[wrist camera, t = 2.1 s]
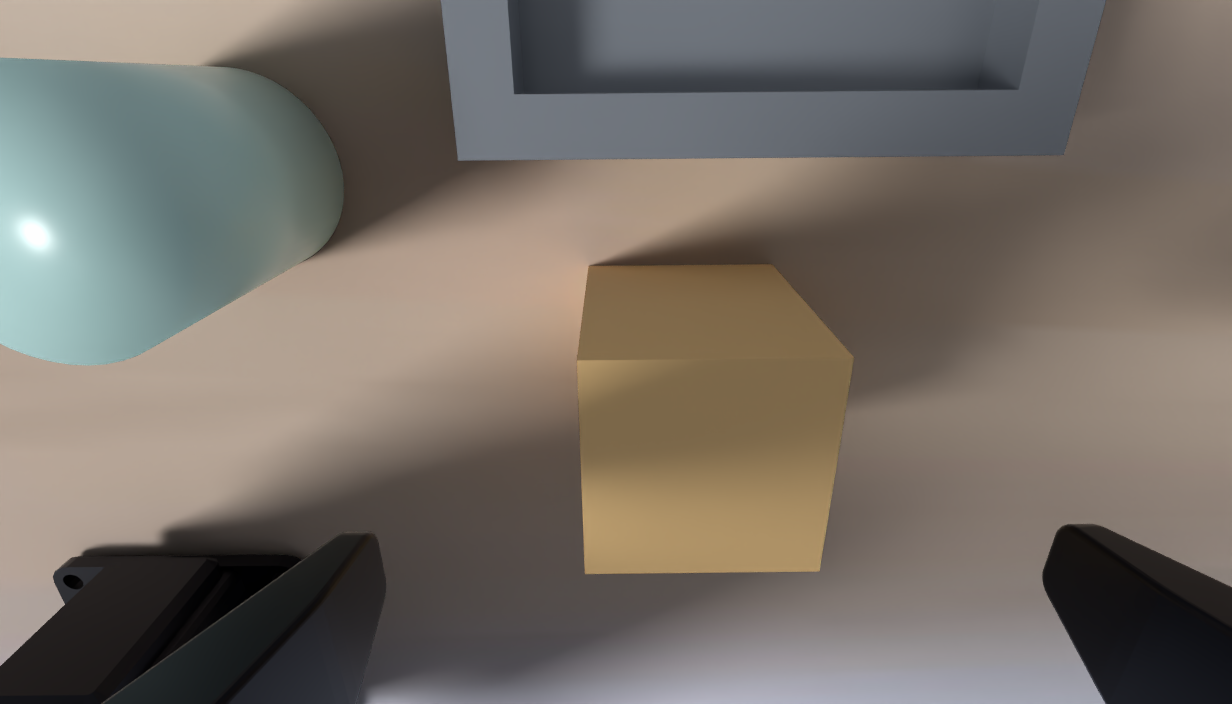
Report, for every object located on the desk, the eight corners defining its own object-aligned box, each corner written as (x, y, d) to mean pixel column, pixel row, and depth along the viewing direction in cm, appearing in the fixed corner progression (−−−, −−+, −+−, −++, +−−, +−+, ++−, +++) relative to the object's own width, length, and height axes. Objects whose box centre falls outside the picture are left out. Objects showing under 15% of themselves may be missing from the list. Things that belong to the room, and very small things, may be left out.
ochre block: (756, 422, 15) (819, 571, 10) (593, 423, 15) (584, 573, 10) (771, 263, 13) (854, 357, 9) (589, 265, 13) (577, 360, 9)
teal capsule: (359, 267, 13) (227, 364, 9) (176, 269, 13) (-51, 366, 9) (322, 65, 12) (137, 54, 7) (115, 68, 12) (-203, 57, 7)
